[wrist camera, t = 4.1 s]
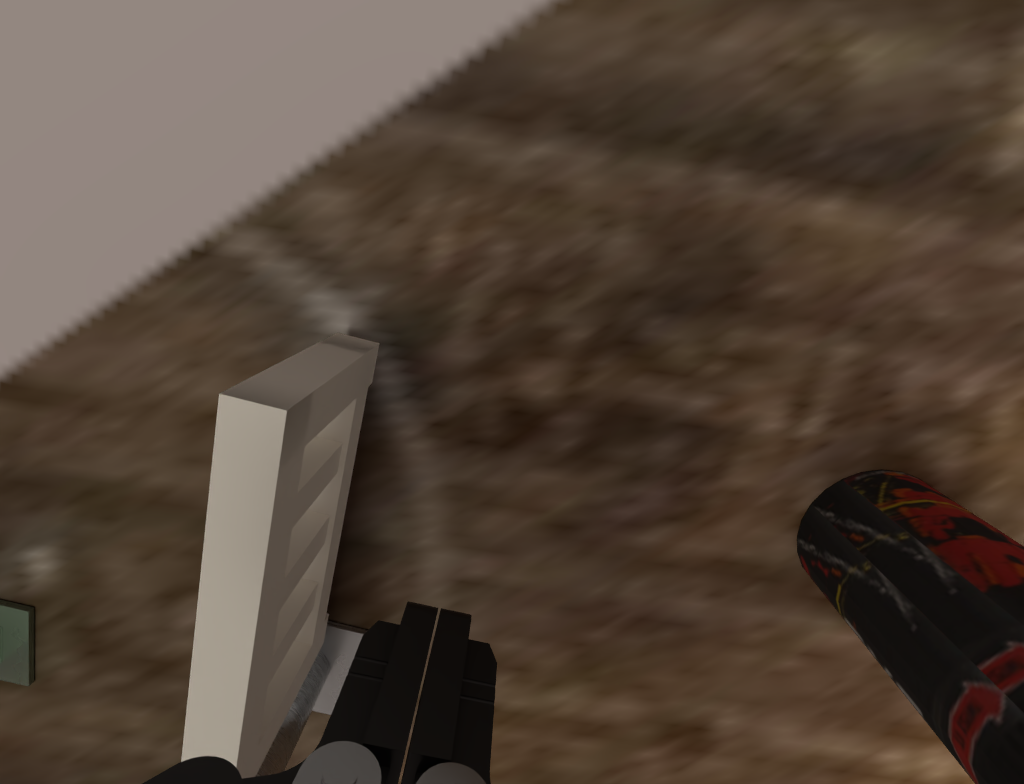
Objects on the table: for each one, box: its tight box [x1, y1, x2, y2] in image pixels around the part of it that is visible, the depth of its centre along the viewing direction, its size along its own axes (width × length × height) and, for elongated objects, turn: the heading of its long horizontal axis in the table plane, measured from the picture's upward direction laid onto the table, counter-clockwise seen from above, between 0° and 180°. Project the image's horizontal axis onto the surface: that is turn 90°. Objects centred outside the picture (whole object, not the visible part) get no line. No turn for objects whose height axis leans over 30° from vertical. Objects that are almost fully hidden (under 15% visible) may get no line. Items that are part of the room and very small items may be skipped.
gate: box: [181, 333, 380, 778], centre depth 19 cm, size 14×2×8 cm, turn 166°
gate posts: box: [0, 600, 368, 777], centre depth 21 cm, size 20×8×11 cm, turn 76°
